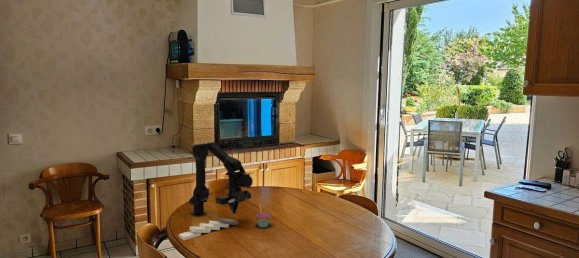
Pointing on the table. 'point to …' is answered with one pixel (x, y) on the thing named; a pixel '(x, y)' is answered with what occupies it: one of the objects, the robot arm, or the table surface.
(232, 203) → the robot arm
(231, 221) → the grey domino block
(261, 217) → the cupcake
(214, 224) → the domino
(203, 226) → the domino
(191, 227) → the domino
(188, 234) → the domino
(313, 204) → the table surface
